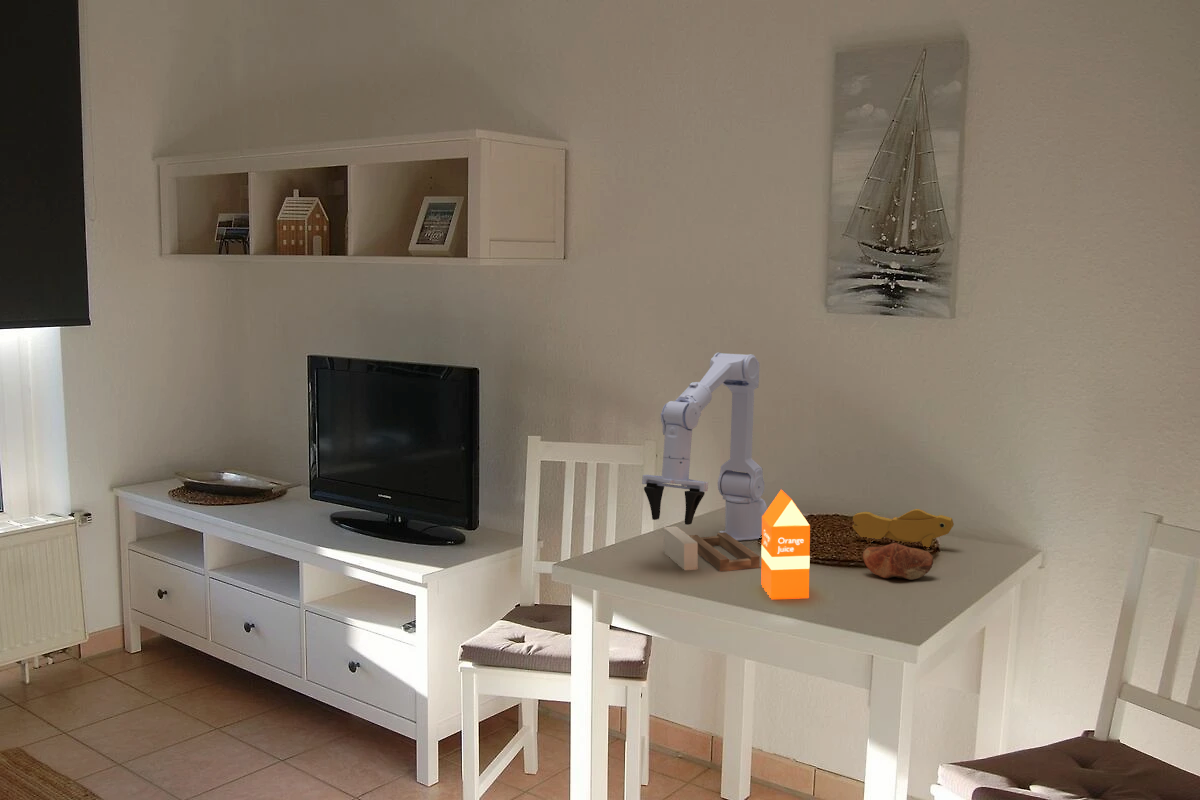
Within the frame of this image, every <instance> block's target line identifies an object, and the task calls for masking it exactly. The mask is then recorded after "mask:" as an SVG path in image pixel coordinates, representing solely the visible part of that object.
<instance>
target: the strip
mask: <svg viewBox="0 0 1200 800" xmlns="http://www.w3.org/2000/svg"><path fill="white" fill-rule="evenodd" d="M663 553H664V555H666V556H667V557H668V558H669V557H670V559H671V560H672V562H674V563H675V564H676V563H677V564H678V565H677V564H676V565H677V566H678V567H680V568H681V569H682V570H683V569H684V570H683V571H692V570H693V571H694V570H698V569H699V568H698V564H699V563H698V556H699V554H698V543H697V542H696V541H695V540H693V539H692V538H691V537H690V536H689V535H688V534H687V533H686V532H685V531H684V530H682V529H681V528H679V527H678V526H676V525H675V526H663Z"/></svg>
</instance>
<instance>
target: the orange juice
mask: <svg viewBox="0 0 1200 800" xmlns="http://www.w3.org/2000/svg"><path fill="white" fill-rule="evenodd" d="M810 542H811V525H810V524H809V522H808V521H807V519H806V517H805V516H804V515H803V514H802V512H801V510H800V509H799V508H798V507H797V504H796V503H795V502H794V501H793V499H792V498H791V497H790V496H789V495H788V494H787V493H786V492H784V490H782V489H780V491H778V493H777V495H776V496H775V498H774V499H773V500H772V502H771V503H770V504H769V506H767V510H766V512H765V513H764V515H763V516H762V539H761V552H760V553H761V556H760V558H761V567H760V568H761V571H760V572H761V577H760V578H761V579H760V581H761V582H760V583H761V585H762V586H761V587H762V589H763V588H764V589H763V590H764V591H765V593H766V592H767V593H766V594H767V596H768V595H769V596H768V597H769V599H770V598H771V599H770V600H792V599H793V600H794V599H795V600H796V599H798V600H799V599H809V598H810V567H811V566H810V560H811V556H810V549H811V548H810V545H811V543H810Z"/></svg>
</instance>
